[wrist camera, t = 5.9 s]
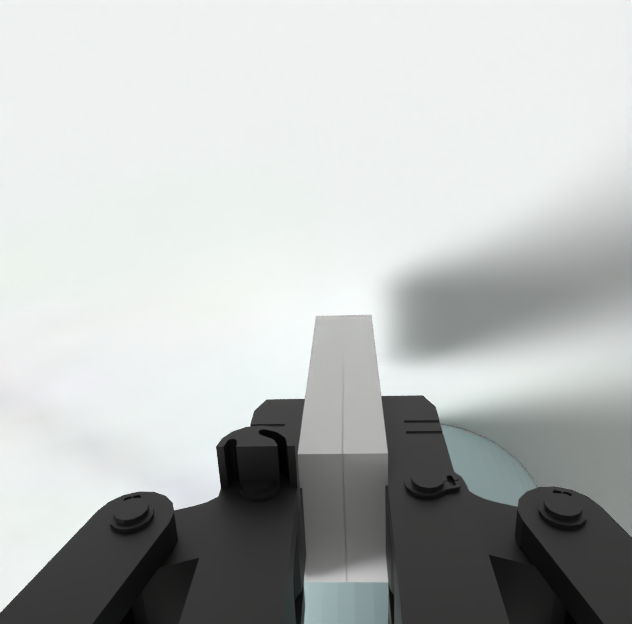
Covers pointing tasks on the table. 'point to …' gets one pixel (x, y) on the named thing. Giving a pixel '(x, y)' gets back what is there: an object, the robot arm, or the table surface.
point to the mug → (481, 479)
